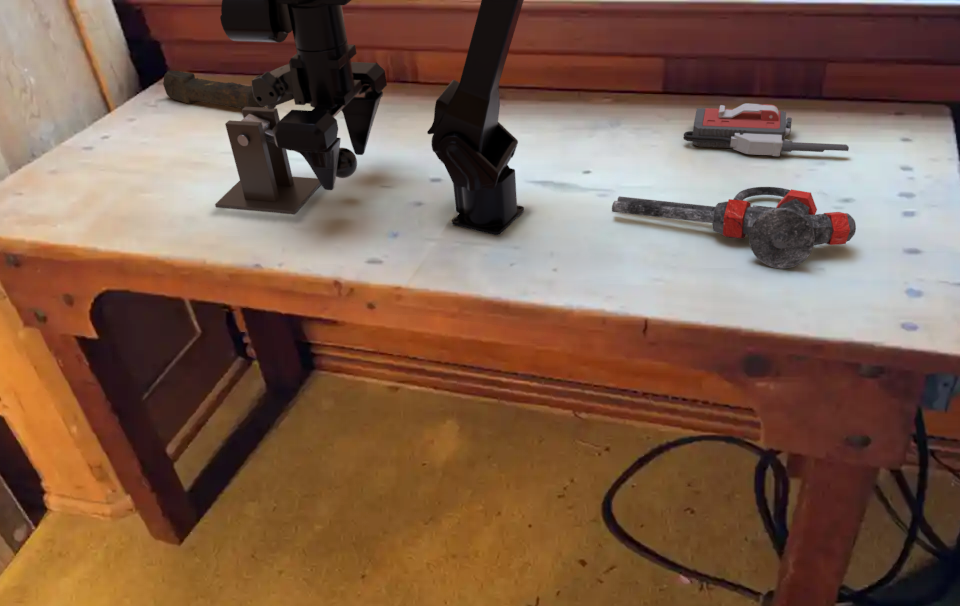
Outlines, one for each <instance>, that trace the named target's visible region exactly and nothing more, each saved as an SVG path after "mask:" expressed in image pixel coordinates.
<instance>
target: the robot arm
mask: <svg viewBox="0 0 960 606" xmlns="http://www.w3.org/2000/svg"><path fill="white" fill-rule="evenodd" d="M524 1H525V0H480V4H479V9H478V12H477V15H476V20H475V22H474V23H475V24H474V27H473V31H472V35H471V38H470V42H469V46H468V50H467V53H466V57H465V61H464V66H463V68H462V72H461V75H460V80H459V81H457V80H456V79H452V80H451V82H450V83H449V84H447V87H446V88H445V89H444V90H443V91H442V92H441V94H440V95H439V96H438V97H437V99H436V100H435V103H434V112H433V113H434V115H433V121H432V124H431V126H430V127H429V129H428V130H427V132H426V133H427V135H432V137H431V150H432V152H433V153H435V155H436V157H437V159H439V161H440V162H441V163H442V164H443V165H444V167H445V169H446V171H447V174H448V176H449V178H450V180H451V182H452V184H453V186H452V187H453V194H454V195H453V196H454V205H455V212H456V213H457V215H456V216H455V217H453V218H452V219H451V224H452V225H453V226H456V227H460V228H464V229H467V230H472V231H476V232H480V233H483V234H488V235H492V236H499V235H501V234H502V233H504V231H506V230H507V229H508V228H509V227H510V226H511V225H512V224H513V223H514V222H515V221H516V220H517V219H518V218H520V216H521V215H522V214H523V213H524V212H525V207H524V206H522V205H519V204H518V200H517V199H518V198H517V180H516V169H515V168H511V167H510V166H509V165H508V164H509V163H510V161H511V159H512V158H514V156H515V153H516V150H517V147H518V144H519V140H518V139H517V138H516V137H515V136H514V135H513V134H512V133H510V131H509V130H508V129H507V128H505V127H504V126H503V124H501V123H500V122H499V117H500V110H501V109H500V107H501V100H500V90H499V89H500V81H501V79H502V78H501V77H502V75H503V71H504V68H505V64H506V62H507V57H508V54H509V51H510V47H511V44H512V41H513V37H514V34H515V31H516V27H517V24H518V21H519V18H520V14H521V11H522V8H523V5H524ZM350 2H352V0H221V7H220V8H221V9H220V12H221V13H220V14H221V15H220V16H219V19H220V23H221V26H222V30H223V31H224V33H225V36H227V38H228V39H230V40H231V41H232V42H233V41H234V42H246V43H247V42H248V43H249V42H251V43H253V42H254V43H283V42H284V41H286V39H287V37H288V36H289V34H290V33H292V37H293V40H294V41H293V42H294V45H295V51H296V53H295V54H294V55H293V56H292V57H290V59H289V62H288V63H287V64H285V65H282V66H280V67H277V68H275V69H273V70H271V71H265V72H264V73H263V74H262V75H261V74H258V75H256V76H255V77H254V78H253V79H251V82H250V83H251V86H252V90H253V95H254V96H253V98H254V100H255V101H256V102H258V104H259V105H261V106H263V108H268V109H269V110H270V109H273V108H276V107H277V106H279V105H281V104H284V103H287V102H290V101H292V100H293V101H294V105H295V106H305V105H307V104H308V105H310V107H311V108H313V109H312V110H305V109H291V110H290V111H289V112H287V113H286V115H284V116H283V117H282V118H281V119H280V121H279V122H278V123H277V124H276V126H275V127H274V128H273V135H274V139H275V144H276V146H277V147H278V148H286V151H291V152H295V151H297V152H296V153H298V154H300V155H301V156H302V157H303V159H305V161H306V162H307V164H308V165H309V167H310V168H311V170H312V171H313V173H314V175H315V178H317V179H318V180H319V182H320V183H321V185H320V186H322V188H323V190H325V191H333V190H334V188H335V184H336V179H337V177H336V171H337V163H338V156H339V148H341V141H342V140H341V139H342V138H341V137H338V134H339V126H338V125H339V124H338V120H337V119H336V118H335V117H336V116H337V115H338V114H339V113H341V112H342V114H343V118H344V122H345V126H346V129H347V133H348V136H349V139H350V143H351V146H352V150H353V153H354V154H355V156H356V155H357V156H363V155H364V154H365V152H366V148H367V145H368V141H369V138H370V135H371V131H372V127H373V126H374V125H373V124H374V121H375V117H376V114H377V111H378V109H379V105H380V102H381V99H382V98H383V96H384V91H383V90H384V89H385V88H386V87H387V86H388V83H387V76H386V70H385V69H384V68H383V67H381V65H380V64H378V63H377V62H363V61H352V59H353V58H354V57H355V56H356V55H357V47H356V44H349V42H348V35H347V30H346V23H345V17H344V12H343V6H346V5H347V4H349V3H350Z"/></svg>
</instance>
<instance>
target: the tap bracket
mask: <svg viewBox="0 0 960 606" xmlns="http://www.w3.org/2000/svg"><path fill="white" fill-rule="evenodd" d="M241 114H242V117H243V118H242V119H244V118H245V117H246V116H247V115H248V114H251V115H254V116H257V117H259V118H262V119H265V120H267V121H270V128H269V129H270V130H273V128H274V127H275V126H276V124H277V123H278V122H279V121H280V120H281V119H280V114H279V110H278V108H276V107H275V108H273V109H270V110H269V109H268V108H267V107H263V108H260V107H244V108H243V109H241ZM224 126H225V129H226V133H227V136H228V140H229V144H230V147H231V151H232V156H233V159H234V163H235V168H236V171H237V174H238V178H239V180H238V182H236V183H235V184H234V185H233V186H232V187H231V189H229V190H228V191H227V192H226V193H225V194H224V195H223V196H222V197H220V199H219V200H218V201H216V203H215V204H214V206H215V208H218V209H219V208H220V209H231V210H239V211H240V210H242V211H251V212H262V213H272V214H273V213H274V214H283V215H284V214H285V215H295V214H296V213H297V212H298V211H299V210H300V209H301V208H302V207H303V206H304V205H305V204H306V202H307V201H308V200H309V199H310V198H311V197H312V196H313V194H314V193H315V192H316V191H317V190H318V189H319V188H320V187H321V186H322V185H321V183H320V182H319V180H318V178H317V177H304V176H293V174H292V170H291V169H292V168H291V164H290V160H289V155H288V152H287V151H288V150H287V149H286V148H278V147H277V146H276V144H274V143H272V142H269V141H266V139H265V135H264V130H263V126H262V122H248V121H241V120H233V119H232V120H230V119H229V120H227V121H226V122H225V123H224Z"/></svg>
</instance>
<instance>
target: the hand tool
mask: <svg viewBox="0 0 960 606" xmlns="http://www.w3.org/2000/svg"><path fill="white" fill-rule="evenodd" d="M162 84H163V88H164V91H165V94H166V96H167V97H168V98H171V99H173V100H174V101H179V102H182V103H184V104H189V105H190V104H194V103H196V102H202V103H207V104H215V105H220V106H226V107H231V108H237V109H241V110H242V109H243V108H244V107H260V108H264V107H263V106H261V105H259V104H258V102H256V101H255V100H254V98H253V96H254V95H253V90H252V85H245V84H241V83H236V82H222V81H216V80H215V81H214V80H208V79H203V78H198V77H196V76H195V73H194V72H185V71H180V70H167V71H166V72H165V73H164V75H163V82H162Z"/></svg>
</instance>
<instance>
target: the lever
mask: <svg viewBox="0 0 960 606" xmlns="http://www.w3.org/2000/svg"><path fill="white" fill-rule="evenodd" d="M240 121H248V122H262V126H263V130H264V135H265V139H266V141H269V142H272V143H274V144H275V139H274V135H273V130H270V129H269V128H270V121H267V120H265V119H262V118H259V117H257V116H254V115H251V114H248V115H247V116H246V117H245V118H242V119H241V120H240ZM294 152H295V153H298V152H297V151H294ZM357 167H358V159H357V157H356V154H355V152H354V151H352V150H351V149H349V148H346V147H340V148H339V156H338V163H337V171H336V178H339V179H347V178H349V177H351V176H352V175H353V174H355V173H356V171H357Z"/></svg>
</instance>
